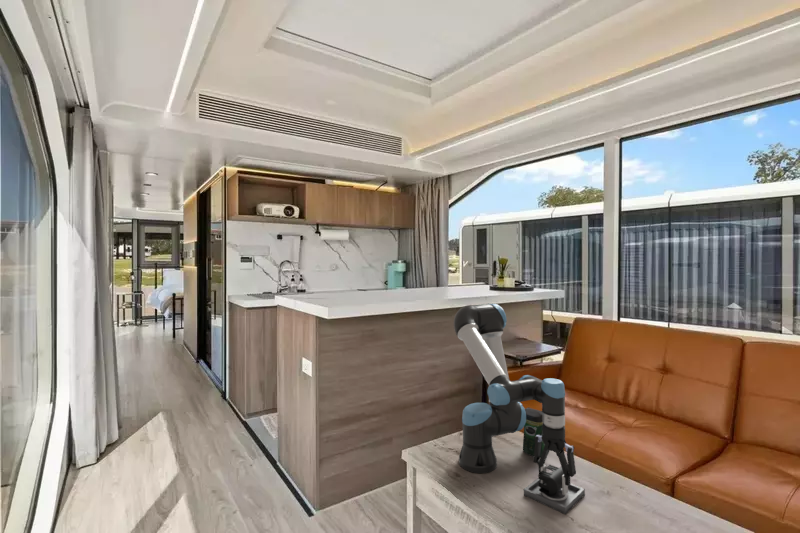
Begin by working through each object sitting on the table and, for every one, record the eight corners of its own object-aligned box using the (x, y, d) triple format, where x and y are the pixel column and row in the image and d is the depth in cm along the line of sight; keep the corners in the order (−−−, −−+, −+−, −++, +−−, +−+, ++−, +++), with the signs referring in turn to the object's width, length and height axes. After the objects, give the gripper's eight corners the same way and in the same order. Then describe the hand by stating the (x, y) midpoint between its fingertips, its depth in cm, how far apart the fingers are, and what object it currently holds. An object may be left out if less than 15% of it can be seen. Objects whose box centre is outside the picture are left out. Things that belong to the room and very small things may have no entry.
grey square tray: (523, 495, 147) (523, 489, 147) (544, 478, 157) (544, 472, 157) (565, 514, 136) (565, 507, 136) (584, 494, 146) (584, 488, 146)
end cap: (557, 499, 140) (557, 480, 140) (538, 491, 145) (537, 472, 145) (570, 487, 147) (570, 468, 147) (551, 479, 152) (550, 461, 152)
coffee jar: (550, 453, 176) (549, 410, 175) (541, 460, 171) (540, 415, 170) (529, 445, 183) (528, 404, 182) (519, 452, 178) (519, 409, 177)
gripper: (522, 419, 150) (522, 481, 151) (577, 436, 136) (578, 505, 137) (532, 413, 155) (533, 473, 156) (587, 429, 141) (587, 495, 142)
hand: (554, 488), depth 146 cm, fingers closed on end cap, 7 cm apart
